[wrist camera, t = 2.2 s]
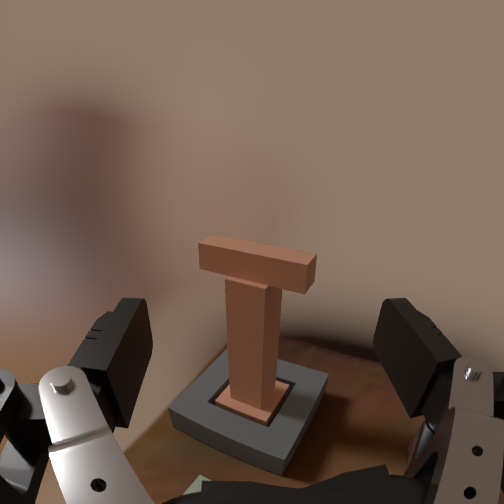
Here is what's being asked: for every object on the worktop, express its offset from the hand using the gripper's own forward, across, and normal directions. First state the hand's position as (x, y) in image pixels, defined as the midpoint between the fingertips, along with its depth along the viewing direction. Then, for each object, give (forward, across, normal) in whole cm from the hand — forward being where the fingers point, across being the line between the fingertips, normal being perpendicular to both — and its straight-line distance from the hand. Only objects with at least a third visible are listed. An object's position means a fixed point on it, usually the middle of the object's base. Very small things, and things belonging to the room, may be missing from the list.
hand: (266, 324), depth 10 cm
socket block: (+11, 0, +18) cm, 22 cm away
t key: (+11, 0, +18) cm, 22 cm away
